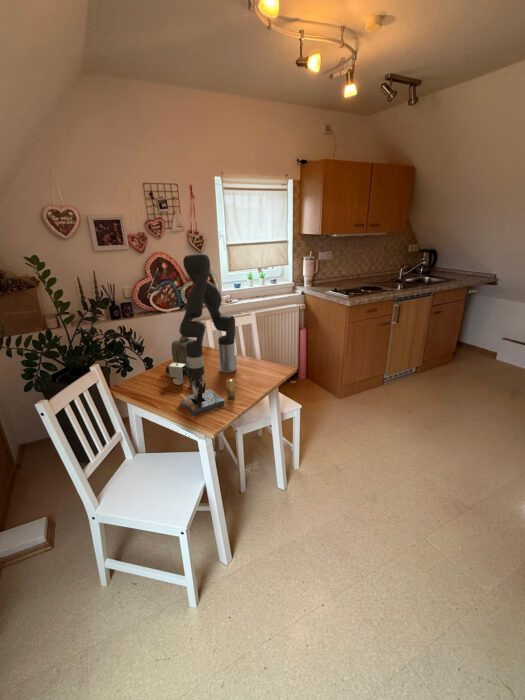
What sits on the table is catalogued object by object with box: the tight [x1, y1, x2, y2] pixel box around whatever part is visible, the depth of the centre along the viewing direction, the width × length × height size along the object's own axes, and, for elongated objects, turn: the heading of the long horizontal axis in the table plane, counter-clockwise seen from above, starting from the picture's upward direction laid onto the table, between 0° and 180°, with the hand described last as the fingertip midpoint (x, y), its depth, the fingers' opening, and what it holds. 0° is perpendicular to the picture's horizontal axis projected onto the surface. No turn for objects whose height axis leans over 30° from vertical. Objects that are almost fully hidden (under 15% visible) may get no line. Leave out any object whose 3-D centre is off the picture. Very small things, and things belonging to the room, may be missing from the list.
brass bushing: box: [225, 378, 236, 402], centre depth 156 cm, size 4×4×10 cm
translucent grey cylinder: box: [192, 385, 203, 404], centre depth 150 cm, size 4×4×10 cm
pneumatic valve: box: [165, 362, 188, 386], centre depth 172 cm, size 6×12×12 cm, turn 78°
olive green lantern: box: [171, 335, 196, 364], centre depth 188 cm, size 14×9×25 cm, turn 54°
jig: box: [179, 388, 225, 417], centre depth 152 cm, size 16×14×5 cm
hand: (198, 397), depth 150 cm, fingers closed on translucent grey cylinder, 4 cm apart
